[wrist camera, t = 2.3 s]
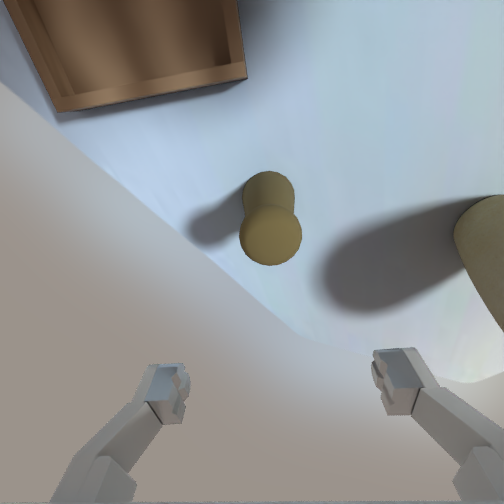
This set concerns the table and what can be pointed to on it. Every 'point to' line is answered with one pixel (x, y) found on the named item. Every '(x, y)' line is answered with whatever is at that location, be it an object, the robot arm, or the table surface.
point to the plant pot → (484, 251)
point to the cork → (269, 219)
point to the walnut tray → (129, 47)
